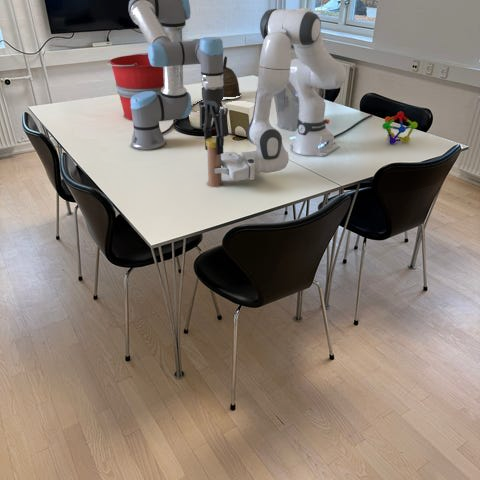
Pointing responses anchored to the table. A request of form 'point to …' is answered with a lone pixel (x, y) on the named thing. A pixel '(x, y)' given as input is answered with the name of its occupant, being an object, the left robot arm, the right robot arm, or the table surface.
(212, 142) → the lid
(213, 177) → the jar
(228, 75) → the bell
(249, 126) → the right robot arm
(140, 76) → the bucket
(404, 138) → the educational toy
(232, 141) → the table surface
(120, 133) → the table surface
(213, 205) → the table surface
